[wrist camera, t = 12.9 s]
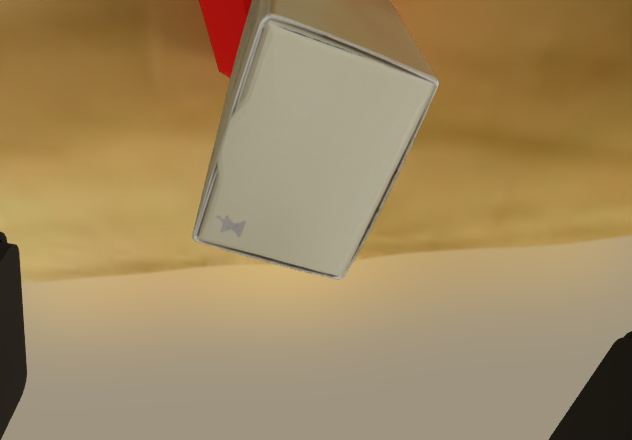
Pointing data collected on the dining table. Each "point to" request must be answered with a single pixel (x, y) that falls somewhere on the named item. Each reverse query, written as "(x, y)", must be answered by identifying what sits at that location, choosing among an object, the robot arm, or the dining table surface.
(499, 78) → the dining table surface
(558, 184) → the dining table surface
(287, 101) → the skincare box
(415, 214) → the dining table surface
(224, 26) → the ball
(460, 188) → the dining table surface
